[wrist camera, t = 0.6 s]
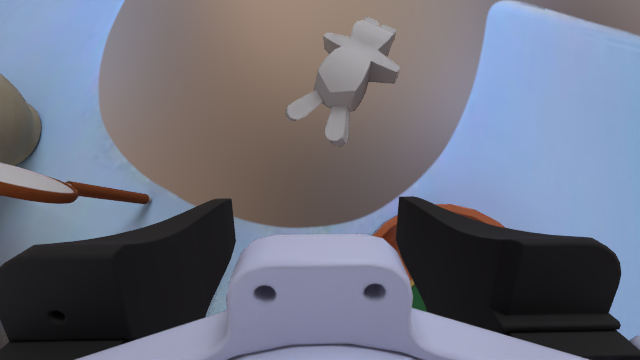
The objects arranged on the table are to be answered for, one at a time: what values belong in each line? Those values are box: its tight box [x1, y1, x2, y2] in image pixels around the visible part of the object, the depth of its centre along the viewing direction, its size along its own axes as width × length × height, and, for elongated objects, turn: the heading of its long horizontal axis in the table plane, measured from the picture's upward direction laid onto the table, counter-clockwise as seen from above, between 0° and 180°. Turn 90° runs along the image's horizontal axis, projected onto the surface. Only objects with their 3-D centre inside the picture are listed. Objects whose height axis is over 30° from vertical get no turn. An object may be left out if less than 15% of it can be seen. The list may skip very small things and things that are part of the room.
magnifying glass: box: [0, 163, 152, 204], centre depth 29 cm, size 9×2×20 cm, turn 69°
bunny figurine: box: [285, 17, 400, 147], centre depth 35 cm, size 10×5×15 cm
